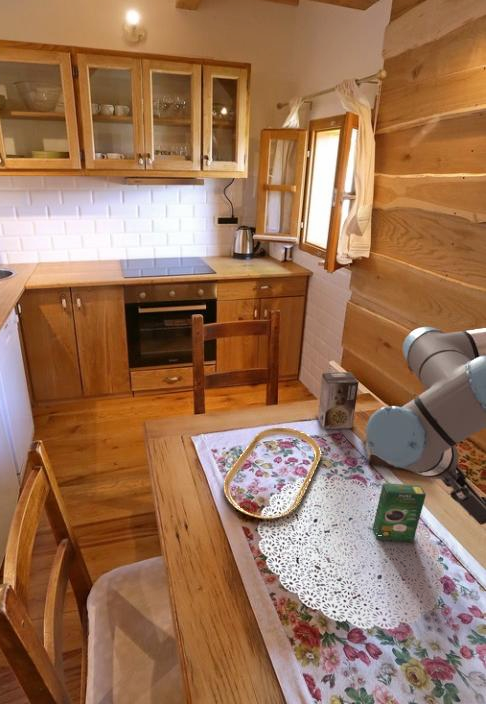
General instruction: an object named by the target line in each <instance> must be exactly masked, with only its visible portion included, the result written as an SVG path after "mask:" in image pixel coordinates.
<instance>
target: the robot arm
mask: <svg viewBox="0 0 486 704" xmlns="http://www.w3.org/2000/svg"><path fill="white" fill-rule="evenodd" d="M402 354H403V356H404V359H405V361H406V363H407V365H408V368H409V369H410V370H411V371H412V372H413V373H414V375H415V377H417V379H418V380H419V382H420V383H421V385H422V386H423V389H424V390H425V391H423V392H422V393H421V394H419V395H418V396H416V397H415V398H413V399H412V400H410V401H409V402H407V403H405V404H404V405H402V406H397V405H390V406H389V405H388V406H384V407H381V408H379V409H377V410H376V411H375V412H373V413H372V415H370V417H369V419H368V421H367V423H366V427H365V437H366V438H367V442H368V444H369V446H370V449H371V450H372V451H373V452H374V453H375V454H376V455H377V456H378V457H379V458H381V459H383V460H385V461H386V462H387V463H388V464H390V465H392V466H394V467H400V468H404V469H407V470H406V471H409V472H412V473H415V474H417V475H419V476H422V477H425V478H427V479H432V480H441V481H442V482H443V484H444V485H445V487H448V488H451V489H452V490H450V497H451V498H452V500H454V501H455V502H457V503H458V504H459V505H460V506H461V507H462V508H463V509H464V510H465V511H466V512H467V513H468V515H469V517H472V518H473V519H474V520H475V521H476V522H477V523H478V524H479V525H480V526H482V525H485V524H486V497H485V496H480V495H479V493H478V492H477V491H476V489H474V488H473V486H472V484H470V483H469V481H468V480H467V477H466V474H465V473H464V471H463V469H462V468H461V467H460V466H459V464H458V463H459V452H458V448H457V446H456V445H458V444H460V443H461V442H463V441H465V440H466V439H468V438H470V437H471V436H473V435H475V434H477V433H478V432H481V431H482V430H484V429H485V428H486V327H481V328H474V329H468V330H461V331H455V332H448V333H446V332H444V331H442V330H440V329H438V328H436V327H431V326H423V327H418V328H416V329H414V330H412V331H411V332H410V333H409V334H407V336H406V337H405V339H404V341H403V344H402ZM366 438H365V439H366ZM404 469H403V470H404Z"/></svg>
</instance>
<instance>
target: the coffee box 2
mask: <svg viewBox="0 0 486 704" xmlns="http://www.w3.org/2000/svg"><path fill="white" fill-rule="evenodd" d="M426 496H427V494H426V492H425V490H424V489H423V487H422V486H421V485H419V484H405V483H388V482H387V483H386V482H383V483H382V485H381V490H380V494H379V499H378V503H377V506H376V507H377V508H376V512H375V515H374V521H373V525H372V531H373V534H374V536H375V540H381V541H401V542H414V541H415V537H416V533H417V529H418V525H419V522H420V518H421V515H422V511H423V507H424V504H425V500H426ZM374 528H375V529H374ZM376 533H377V534H376ZM378 535H382V536H378Z"/></svg>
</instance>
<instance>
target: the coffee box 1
mask: <svg viewBox="0 0 486 704" xmlns="http://www.w3.org/2000/svg"><path fill="white" fill-rule="evenodd" d="M359 383H360V382H359V381H358V380H357V378H356V377H355V375H354V374H353V372H351V371H347V372H346V371H345V372H344V371H343V372H322V375H321V383H320V393H319V401H318V412H317V419H318V421H319V423H320V425H321V427H322V429H324V430H331V429H332V430H333V429H353V427H354V419H355V412H356V405H357V396H358V391H359V390H358V389H359Z"/></svg>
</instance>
